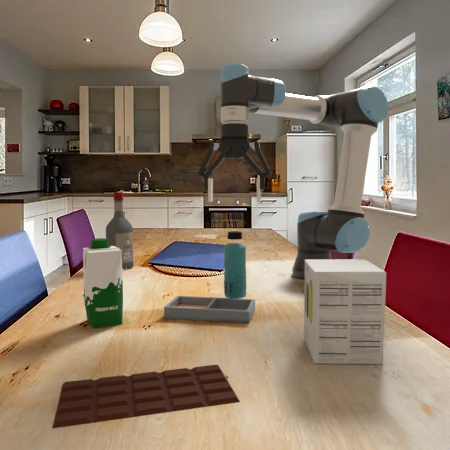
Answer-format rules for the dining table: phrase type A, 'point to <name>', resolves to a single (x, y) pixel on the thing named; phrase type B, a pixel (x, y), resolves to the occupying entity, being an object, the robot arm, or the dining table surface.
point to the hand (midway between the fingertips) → (234, 201)
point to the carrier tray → (210, 309)
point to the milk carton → (103, 283)
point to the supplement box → (344, 311)
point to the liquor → (121, 232)
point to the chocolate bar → (142, 395)
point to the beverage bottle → (235, 267)
